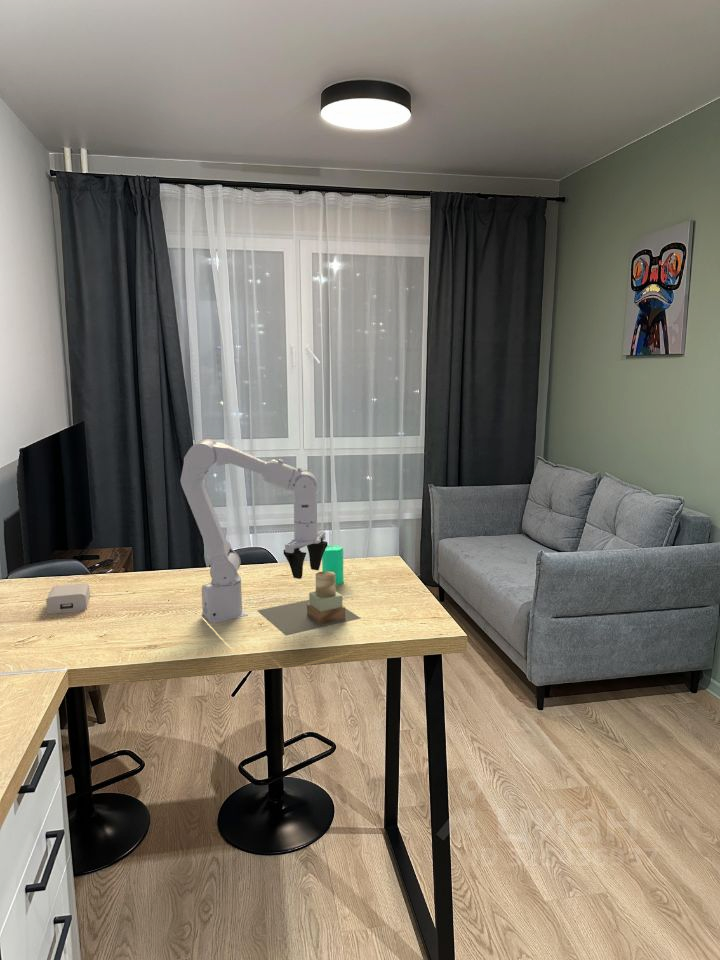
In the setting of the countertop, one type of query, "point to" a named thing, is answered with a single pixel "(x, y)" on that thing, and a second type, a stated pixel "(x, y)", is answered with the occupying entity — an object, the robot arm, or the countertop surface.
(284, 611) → the mat
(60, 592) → the charger
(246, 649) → the countertop surface
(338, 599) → the tower top
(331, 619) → the tower base
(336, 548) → the candle
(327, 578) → the tan rounded cylinder
